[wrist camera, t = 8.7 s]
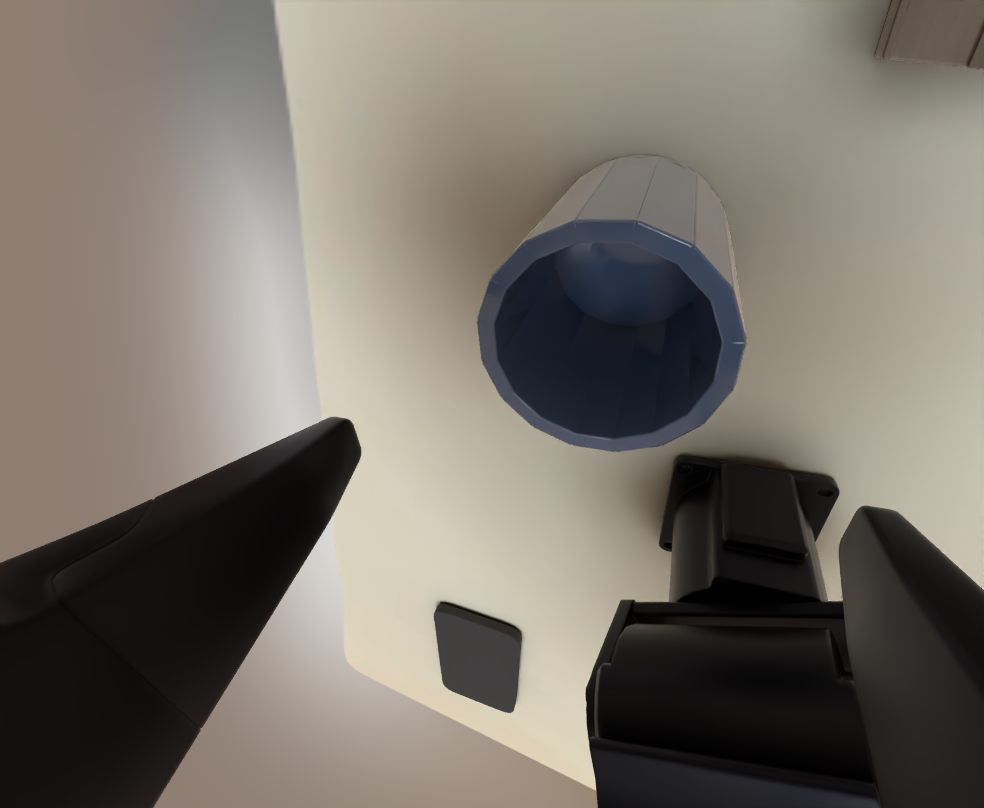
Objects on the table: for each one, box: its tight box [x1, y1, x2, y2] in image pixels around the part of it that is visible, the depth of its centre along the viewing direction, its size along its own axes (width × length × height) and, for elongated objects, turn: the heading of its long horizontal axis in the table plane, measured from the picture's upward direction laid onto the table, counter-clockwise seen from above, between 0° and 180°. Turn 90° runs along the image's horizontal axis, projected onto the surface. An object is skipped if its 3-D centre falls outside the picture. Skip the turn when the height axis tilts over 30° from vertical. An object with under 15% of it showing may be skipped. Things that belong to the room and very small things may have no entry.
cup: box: [477, 155, 746, 452], centre depth 14 cm, size 6×6×8 cm
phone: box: [434, 604, 521, 713], centre depth 41 cm, size 7×1×15 cm
